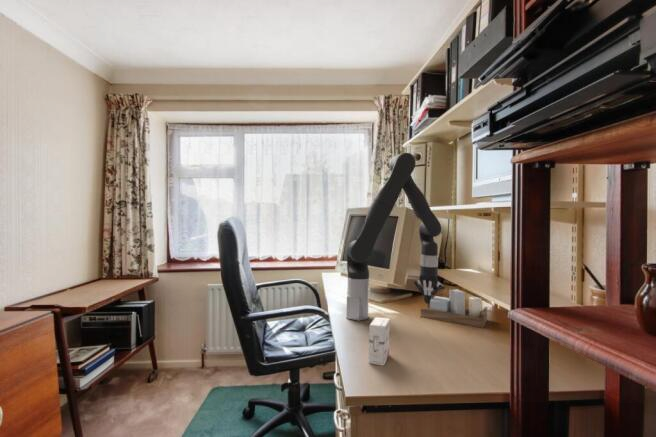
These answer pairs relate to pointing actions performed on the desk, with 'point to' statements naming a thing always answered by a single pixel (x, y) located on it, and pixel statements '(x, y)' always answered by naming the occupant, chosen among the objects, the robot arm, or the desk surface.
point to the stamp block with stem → (439, 304)
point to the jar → (475, 306)
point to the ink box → (379, 340)
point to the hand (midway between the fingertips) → (427, 303)
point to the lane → (456, 317)
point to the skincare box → (457, 302)
